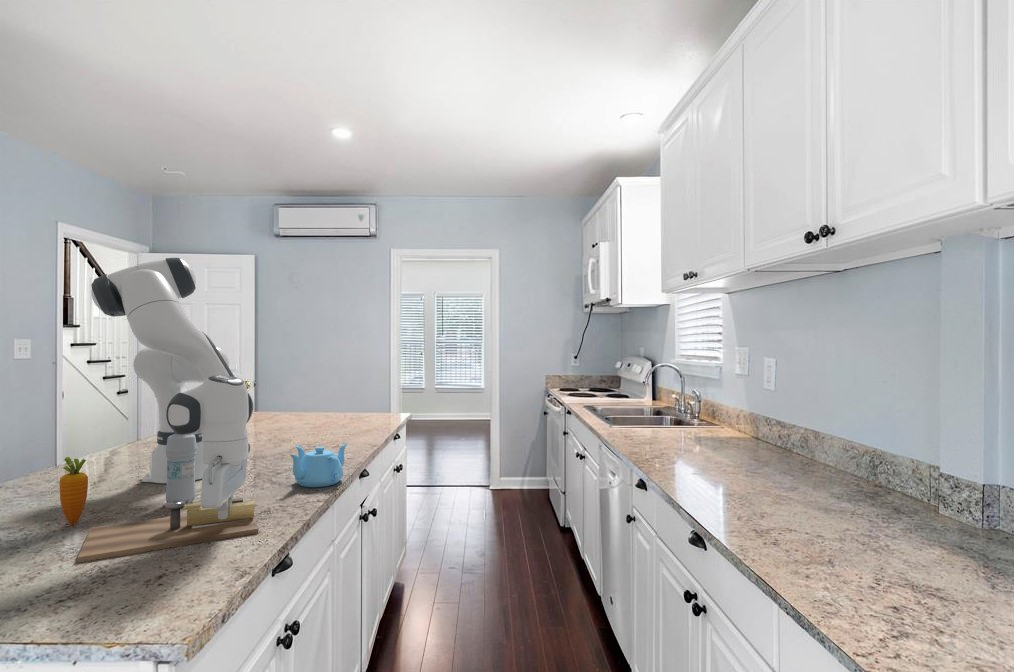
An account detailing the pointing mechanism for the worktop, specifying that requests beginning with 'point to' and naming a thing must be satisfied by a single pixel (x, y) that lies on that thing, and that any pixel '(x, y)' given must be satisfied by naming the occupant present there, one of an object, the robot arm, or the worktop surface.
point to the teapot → (318, 467)
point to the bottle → (180, 467)
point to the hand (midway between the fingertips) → (224, 517)
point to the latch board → (159, 535)
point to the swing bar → (211, 512)
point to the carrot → (73, 491)
